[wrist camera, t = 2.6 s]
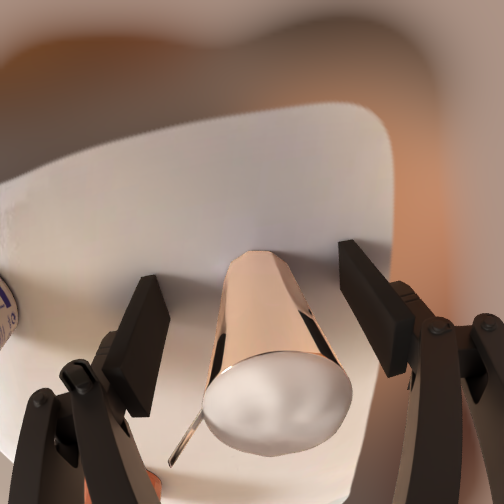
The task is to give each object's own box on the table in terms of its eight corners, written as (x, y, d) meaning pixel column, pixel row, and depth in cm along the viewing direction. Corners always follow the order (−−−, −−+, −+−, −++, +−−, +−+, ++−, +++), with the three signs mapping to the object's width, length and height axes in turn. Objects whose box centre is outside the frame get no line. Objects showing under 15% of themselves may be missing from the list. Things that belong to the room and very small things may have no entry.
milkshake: (193, 235, 15) (152, 417, 6) (307, 237, 15) (395, 404, 6) (196, 315, 17) (179, 493, 8) (297, 315, 17) (346, 484, 8)
